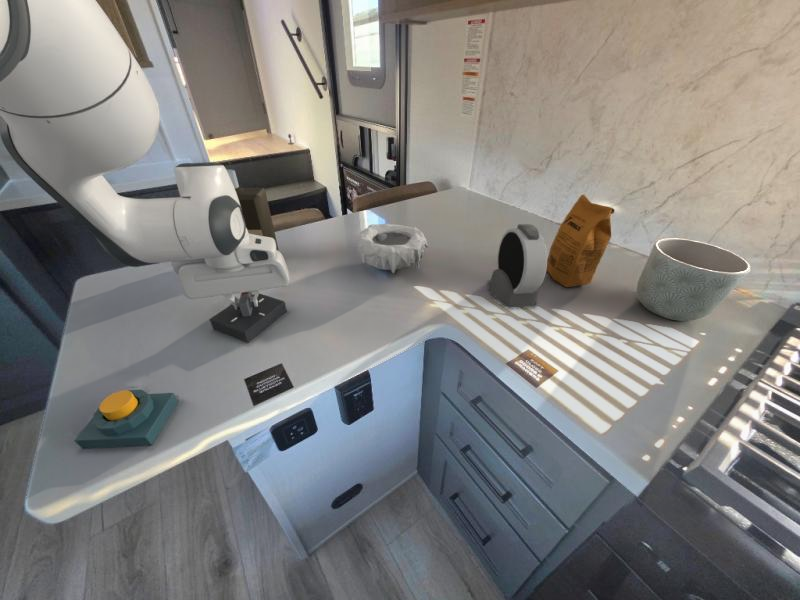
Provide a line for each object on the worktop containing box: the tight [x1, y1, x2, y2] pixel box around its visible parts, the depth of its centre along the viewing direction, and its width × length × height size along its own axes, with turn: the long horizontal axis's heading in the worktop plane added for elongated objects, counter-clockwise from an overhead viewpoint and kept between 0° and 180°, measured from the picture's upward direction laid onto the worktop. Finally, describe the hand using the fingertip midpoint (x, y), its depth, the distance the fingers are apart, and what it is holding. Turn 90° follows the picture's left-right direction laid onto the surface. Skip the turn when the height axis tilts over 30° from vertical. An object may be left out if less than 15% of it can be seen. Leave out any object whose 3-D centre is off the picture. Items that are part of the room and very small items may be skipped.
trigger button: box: [98, 390, 138, 421], centre depth 48 cm, size 4×4×2 cm
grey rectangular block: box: [239, 291, 252, 317], centre depth 69 cm, size 5×2×4 cm, turn 14°
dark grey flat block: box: [209, 291, 288, 344], centre depth 71 cm, size 12×10×3 cm
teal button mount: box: [73, 389, 179, 449], centre depth 49 cm, size 10×8×4 cm
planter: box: [636, 237, 752, 322], centre depth 74 cm, size 17×17×15 cm
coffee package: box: [546, 194, 615, 288], centre depth 84 cm, size 10×12×22 cm
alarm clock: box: [489, 223, 548, 308], centre depth 78 cm, size 16×10×18 cm, turn 6°
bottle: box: [226, 169, 280, 252], centre depth 89 cm, size 8×16×25 cm, turn 93°
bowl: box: [356, 223, 429, 274], centre depth 91 cm, size 21×20×10 cm
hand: (247, 306), depth 69 cm, fingers closed on grey rectangular block, 2 cm apart
